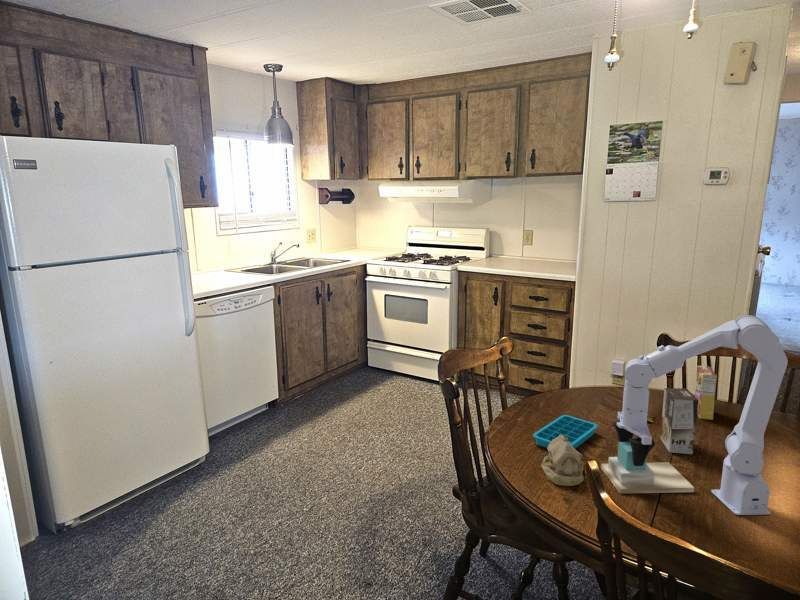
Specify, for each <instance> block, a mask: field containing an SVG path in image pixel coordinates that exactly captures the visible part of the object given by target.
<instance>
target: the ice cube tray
mask: <svg viewBox="0 0 800 600" xmlns="http://www.w3.org/2000/svg"><path fill="white" fill-rule="evenodd" d="M598 428H599V424H597V423H594V422H591V421H588V420H584V419H581V418H577V417H574V416H571V415H569V414H562V415H560V416H559V417H557V418H555V419H554V420H552V421H551V422H549V423H548V424H547V425H545V426H543V427H542V428H540V429H539V430H538V431H536V432H534V433H533V434H532V437H533V438H534V439H535V443H536V445H537V446H540V447H541V448H545V449H547V448H548V445H549V444H550V442H551V441H552V440H553V439H555V438H557V437H558V436H559V435H564V436H567V437H568V441H569V443H570V444H571V445H572V446H573V448H574V449H575V450H576V449H577V448H578V447H580V445H582V444H583V443H584V442H586V441H587V440H588V439H590V438H591V437H593V435H594V433H595V430H596V429H598Z"/></svg>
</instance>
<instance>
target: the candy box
mask: <svg viewBox="0 0 800 600" xmlns="http://www.w3.org/2000/svg"><path fill="white" fill-rule="evenodd" d="M717 378H718V375H717V374H716V373H715V371H714V370H713V368H712V367H711V366H707V365H697V367H696V377H695V390H694V391H695V393H694V396H695V397H696V398H697V399H698V400H699V401H698V410H697V418H698V419H700V420H709V421H713V420H714V413H715V410H714V409H715V402H716V400H715V399H716V388H717V387H716V386H717Z"/></svg>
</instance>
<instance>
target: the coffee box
mask: <svg viewBox="0 0 800 600" xmlns="http://www.w3.org/2000/svg"><path fill="white" fill-rule="evenodd" d="M662 401H663V402H662V413H661V425H660V426H661V427H660V438H659V439H660V440H661V442H662V443H663V445H664V446H665V448H666V449H667V451H668V453H674V454H683V455H684V454H685V455H693V453H694V448H695V447H694V444H695V438H696V435H695V434H696V427H697V425H696V424H697V418H698V415H697V410H698V401H699V400H698V399H697V398H696V397H695V394H693V393H692V392H691V391H690V390H689V389H688V388H680V387H679V388H675V387H673V388H672V387H671V388H667V387H664V389H663V399H662Z"/></svg>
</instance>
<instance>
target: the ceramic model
mask: <svg viewBox="0 0 800 600" xmlns="http://www.w3.org/2000/svg"><path fill="white" fill-rule="evenodd" d="M546 449H547V452H548V454H547V455H545V456H544V457H543V459H542V462H541V468H542V470H543V472H544V473H545V475H546V477H547V478H548V479H549V480H550V481H551V482H552V483H554V484H555V485H557V486H558V485H559V486H569V487H570V486H571V487H572V486H578V485H580V484H581V483H582V482H583V481H584V475H583V471H584V463H582V462H581V460H582V459H583V455H582V453H580V452H579V451H578V450H577V449H576V448H575V449H574V448H573V446H572V445H571V444H570V443H569V441H568V437H567V436H564V435H559V436H558V437H557V438H555V439H553V440H552V441H551V442H550V444H549V445H548V448H546Z"/></svg>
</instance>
